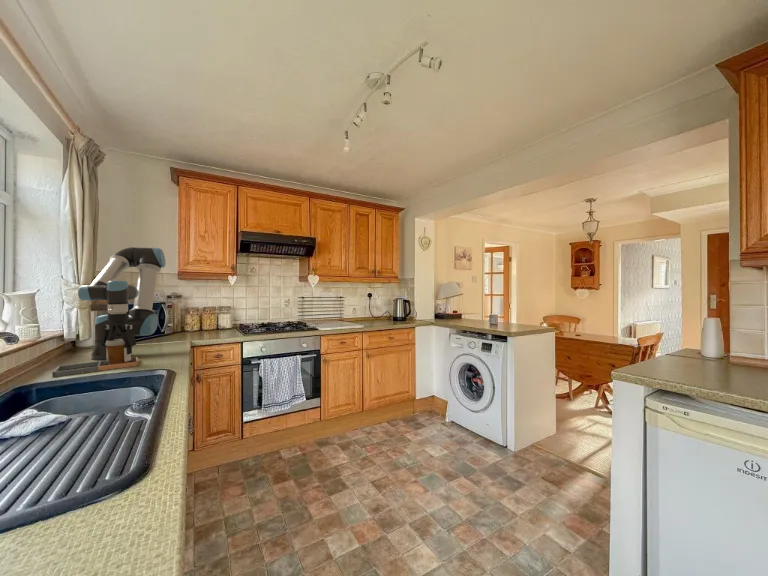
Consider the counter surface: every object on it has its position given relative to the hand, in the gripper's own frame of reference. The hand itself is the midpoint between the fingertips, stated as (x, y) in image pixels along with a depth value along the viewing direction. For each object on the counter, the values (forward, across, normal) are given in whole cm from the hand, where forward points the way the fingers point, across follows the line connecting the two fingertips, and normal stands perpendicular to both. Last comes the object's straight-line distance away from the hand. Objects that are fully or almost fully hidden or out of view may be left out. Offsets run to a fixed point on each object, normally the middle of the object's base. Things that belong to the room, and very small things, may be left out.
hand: (118, 360), depth 151 cm
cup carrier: (+2, -5, -5) cm, 7 cm away
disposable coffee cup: (+2, 0, 0) cm, 2 cm away
